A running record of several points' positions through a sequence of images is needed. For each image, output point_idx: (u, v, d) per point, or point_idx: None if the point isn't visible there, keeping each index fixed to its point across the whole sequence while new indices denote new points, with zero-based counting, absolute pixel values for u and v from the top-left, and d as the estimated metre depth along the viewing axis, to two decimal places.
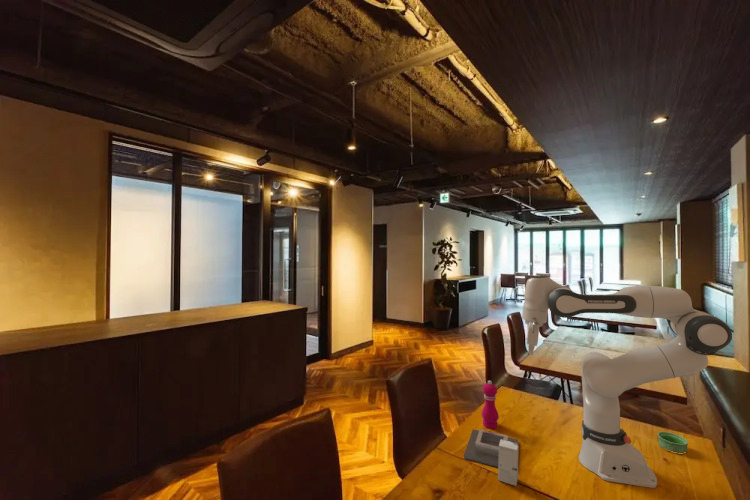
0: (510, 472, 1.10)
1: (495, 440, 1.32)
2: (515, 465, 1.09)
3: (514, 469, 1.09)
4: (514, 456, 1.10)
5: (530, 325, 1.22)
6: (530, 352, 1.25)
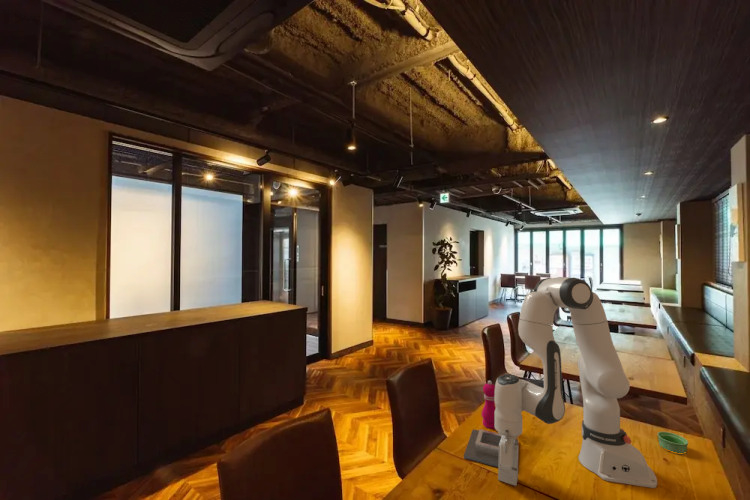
0: (510, 471, 1.10)
1: (495, 440, 1.32)
2: (515, 465, 1.09)
3: (514, 468, 1.09)
4: (514, 456, 1.10)
5: (502, 443, 1.05)
6: (507, 468, 1.09)
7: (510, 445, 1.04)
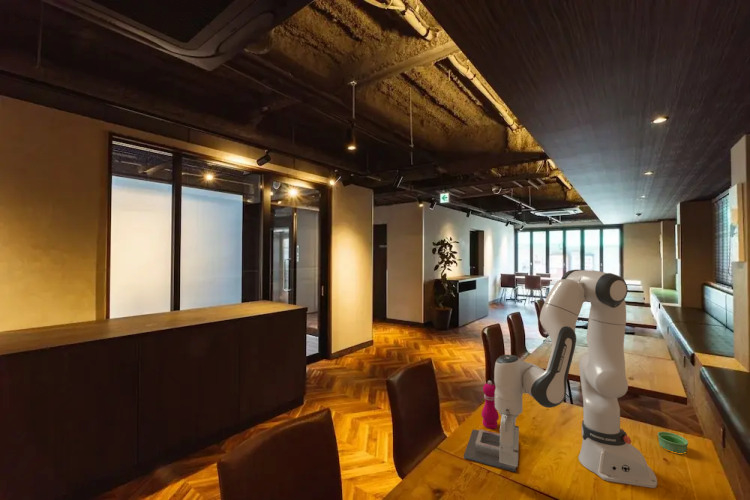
0: (512, 454, 1.10)
1: (495, 440, 1.32)
2: (516, 447, 1.10)
3: (515, 451, 1.10)
4: (515, 438, 1.10)
5: (502, 421, 1.05)
6: (507, 447, 1.09)
7: (510, 423, 1.04)
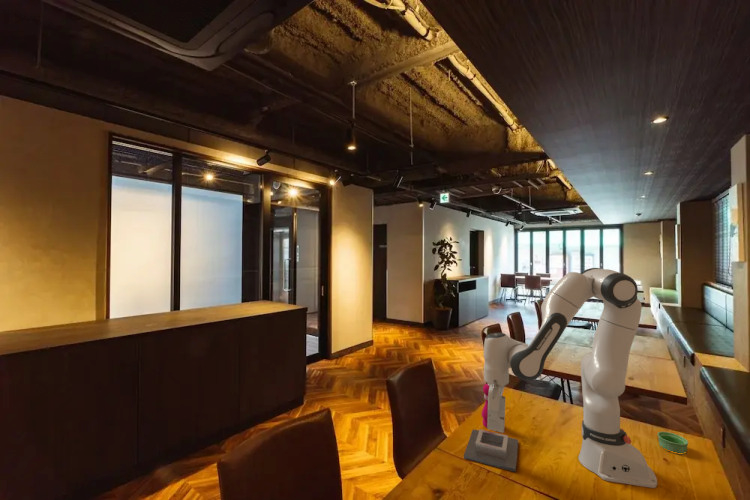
0: (498, 420, 1.22)
1: (495, 440, 1.32)
2: (502, 415, 1.21)
3: (501, 418, 1.21)
4: (502, 407, 1.21)
5: (490, 390, 1.17)
6: (495, 415, 1.21)
7: (497, 391, 1.16)
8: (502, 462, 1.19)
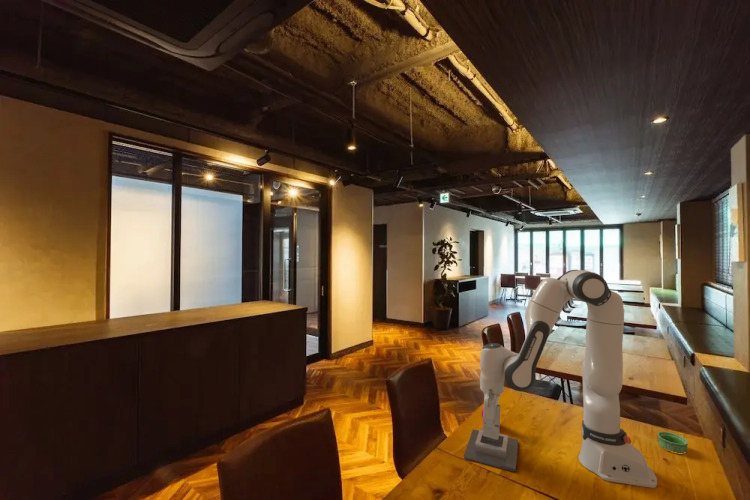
0: (493, 428, 1.27)
1: (495, 440, 1.32)
2: (497, 423, 1.26)
3: (496, 425, 1.26)
4: (497, 415, 1.26)
5: (485, 399, 1.22)
6: (490, 422, 1.26)
7: (492, 401, 1.20)
8: (502, 462, 1.19)
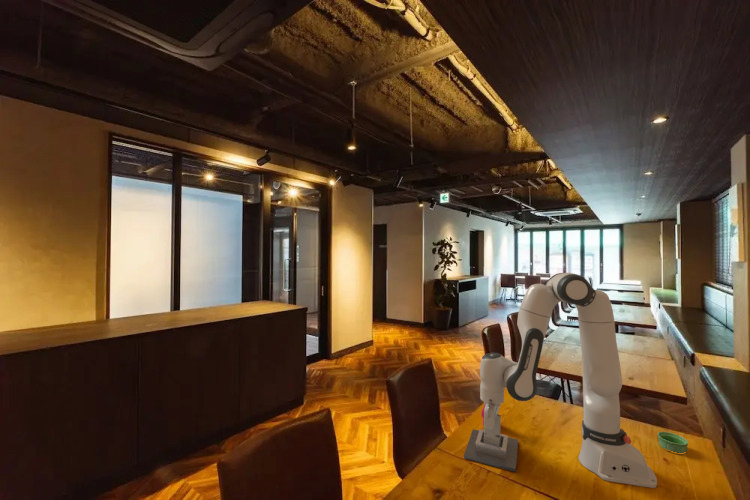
0: (494, 438, 1.27)
1: None
2: (498, 433, 1.27)
3: (497, 436, 1.27)
4: (497, 425, 1.27)
5: (486, 409, 1.22)
6: (490, 435, 1.24)
7: (492, 411, 1.20)
8: (502, 462, 1.19)
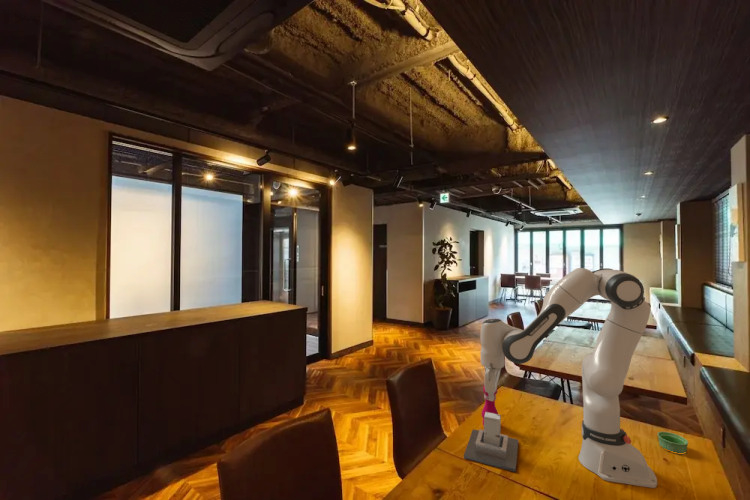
0: (494, 438, 1.27)
1: None
2: (498, 433, 1.27)
3: (497, 436, 1.27)
4: (497, 425, 1.27)
5: (486, 372, 1.22)
6: (490, 399, 1.24)
7: (493, 374, 1.21)
8: (502, 462, 1.19)
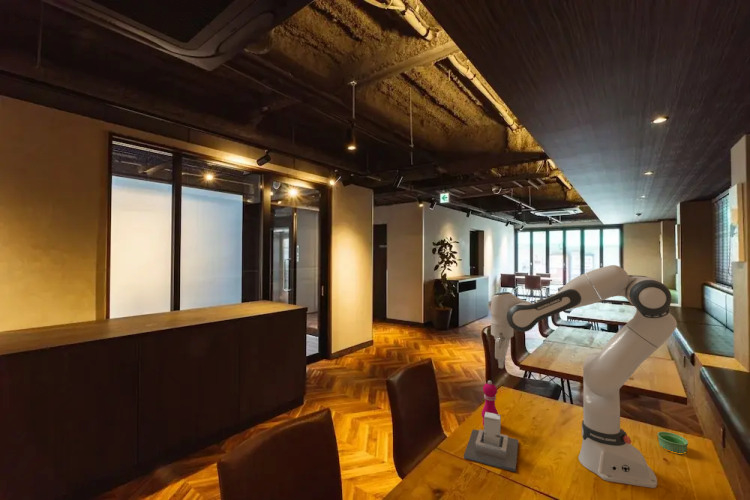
0: (494, 438, 1.27)
1: None
2: (498, 433, 1.27)
3: (497, 436, 1.27)
4: (497, 425, 1.27)
5: (497, 341, 1.29)
6: (500, 366, 1.32)
7: (503, 342, 1.28)
8: (502, 462, 1.19)
